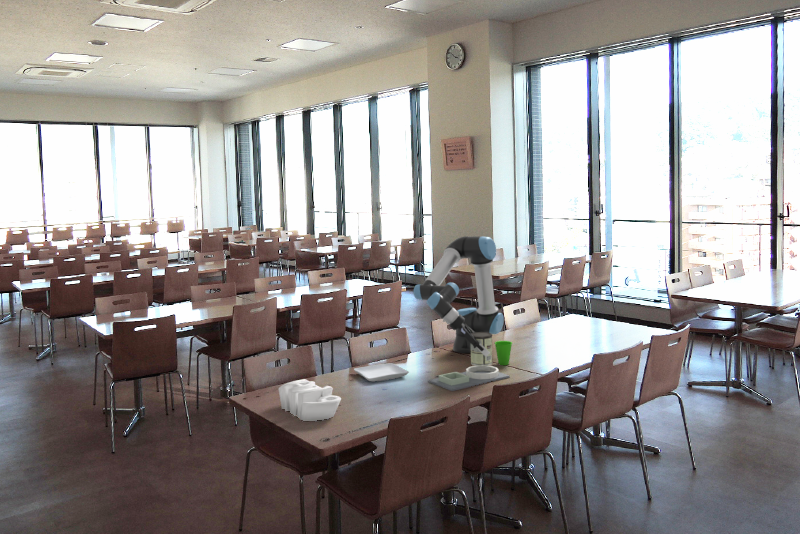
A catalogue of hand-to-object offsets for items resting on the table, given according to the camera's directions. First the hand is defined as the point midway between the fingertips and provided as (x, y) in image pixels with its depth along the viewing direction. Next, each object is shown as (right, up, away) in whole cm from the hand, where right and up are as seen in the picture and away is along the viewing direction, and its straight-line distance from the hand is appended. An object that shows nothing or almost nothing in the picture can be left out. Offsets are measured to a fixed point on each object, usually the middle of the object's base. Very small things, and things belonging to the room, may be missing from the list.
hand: (488, 352), depth 317 cm
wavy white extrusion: (-79, -20, -40) cm, 91 cm away
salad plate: (-51, -13, +9) cm, 53 cm away
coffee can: (-3, -6, +1) cm, 7 cm away
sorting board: (-9, -13, -2) cm, 16 cm away
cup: (+11, -9, +24) cm, 28 cm away
